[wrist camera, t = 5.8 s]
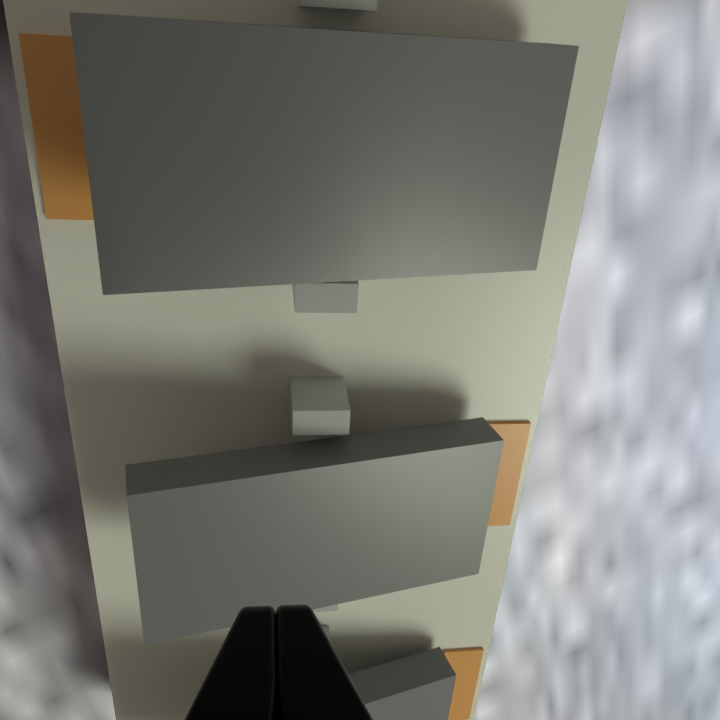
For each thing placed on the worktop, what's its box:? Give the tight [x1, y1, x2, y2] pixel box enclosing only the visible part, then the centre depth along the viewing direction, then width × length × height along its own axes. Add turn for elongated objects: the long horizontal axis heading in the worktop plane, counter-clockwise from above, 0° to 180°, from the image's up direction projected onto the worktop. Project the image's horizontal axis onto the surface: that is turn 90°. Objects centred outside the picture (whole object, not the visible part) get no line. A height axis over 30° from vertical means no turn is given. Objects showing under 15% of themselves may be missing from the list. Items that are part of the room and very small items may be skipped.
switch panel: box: [3, 0, 628, 720], centre depth 17 cm, size 11×23×4 cm, turn 176°
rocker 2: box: [125, 417, 504, 646], centre depth 15 cm, size 8×4×1 cm, turn 86°
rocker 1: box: [69, 12, 579, 295], centre depth 11 cm, size 8×4×1 cm, turn 86°
